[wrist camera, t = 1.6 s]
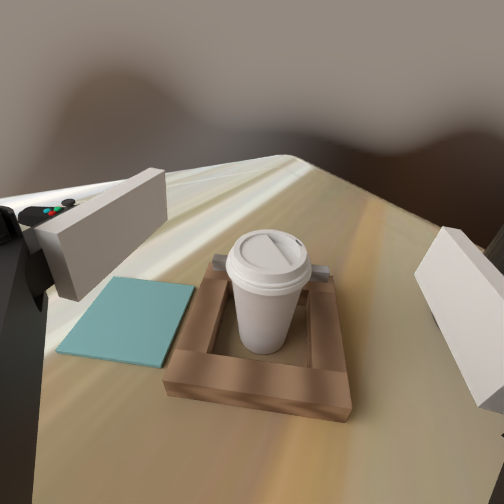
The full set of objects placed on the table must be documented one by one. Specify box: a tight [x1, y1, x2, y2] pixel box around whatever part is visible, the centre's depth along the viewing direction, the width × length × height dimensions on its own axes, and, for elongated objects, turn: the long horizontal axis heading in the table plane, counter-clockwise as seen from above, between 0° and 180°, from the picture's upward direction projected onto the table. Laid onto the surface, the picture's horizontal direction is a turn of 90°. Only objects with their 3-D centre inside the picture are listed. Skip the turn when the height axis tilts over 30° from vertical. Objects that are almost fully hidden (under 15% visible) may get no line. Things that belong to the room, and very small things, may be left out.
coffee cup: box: [226, 230, 312, 355], centre depth 34 cm, size 10×10×15 cm
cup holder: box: [162, 254, 352, 423], centre depth 37 cm, size 20×20×6 cm
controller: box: [18, 199, 75, 227], centre depth 50 cm, size 4×12×10 cm, turn 88°
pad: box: [55, 276, 195, 368], centre depth 40 cm, size 14×14×1 cm
